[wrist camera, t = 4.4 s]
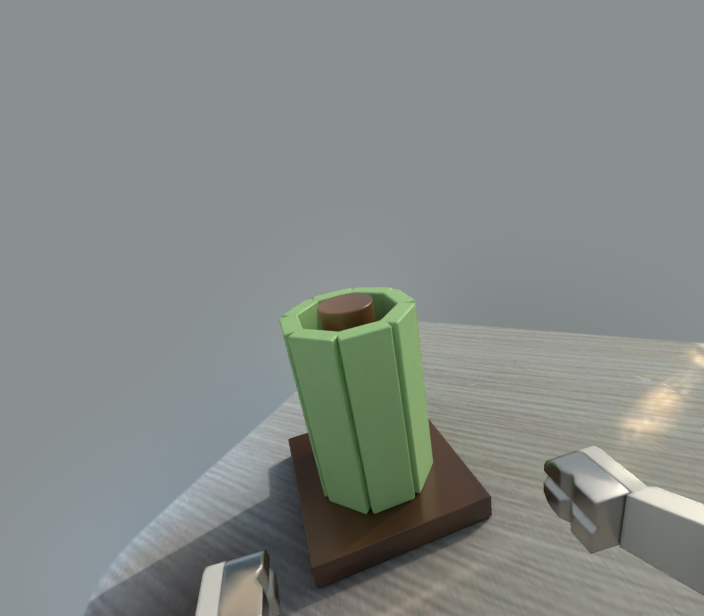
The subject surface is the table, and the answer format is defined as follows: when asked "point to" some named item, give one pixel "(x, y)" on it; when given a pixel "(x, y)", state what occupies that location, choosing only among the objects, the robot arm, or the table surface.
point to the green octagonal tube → (363, 400)
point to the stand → (370, 529)
